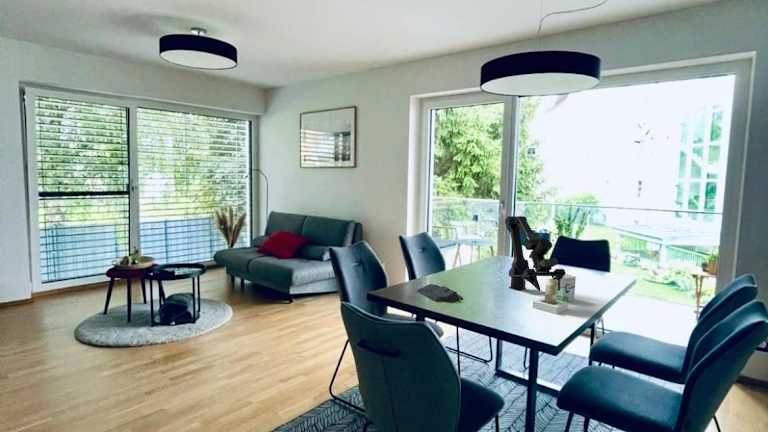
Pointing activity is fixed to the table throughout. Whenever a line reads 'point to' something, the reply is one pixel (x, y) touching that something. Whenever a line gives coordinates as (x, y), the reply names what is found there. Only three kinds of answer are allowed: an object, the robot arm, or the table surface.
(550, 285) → the birch pin
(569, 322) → the table surface
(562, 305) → the grey socket
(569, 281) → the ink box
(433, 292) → the dark slate chunk
